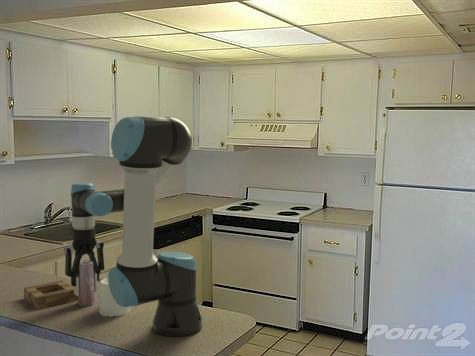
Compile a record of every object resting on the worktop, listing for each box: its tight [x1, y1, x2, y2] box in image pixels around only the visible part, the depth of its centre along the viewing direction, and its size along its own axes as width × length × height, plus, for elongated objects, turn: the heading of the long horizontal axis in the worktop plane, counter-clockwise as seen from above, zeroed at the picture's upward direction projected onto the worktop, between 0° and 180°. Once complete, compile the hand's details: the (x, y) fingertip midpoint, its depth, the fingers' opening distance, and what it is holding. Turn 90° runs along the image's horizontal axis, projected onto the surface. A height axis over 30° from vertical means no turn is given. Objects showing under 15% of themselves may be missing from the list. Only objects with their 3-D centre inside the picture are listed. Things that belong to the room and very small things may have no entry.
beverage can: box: [76, 259, 96, 307], centre depth 179 cm, size 6×6×15 cm
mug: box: [97, 276, 131, 318], centre depth 174 cm, size 14×10×11 cm
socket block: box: [23, 279, 77, 310], centre depth 184 cm, size 14×14×4 cm
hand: (85, 292), depth 179 cm, fingers closed on beverage can, 6 cm apart
